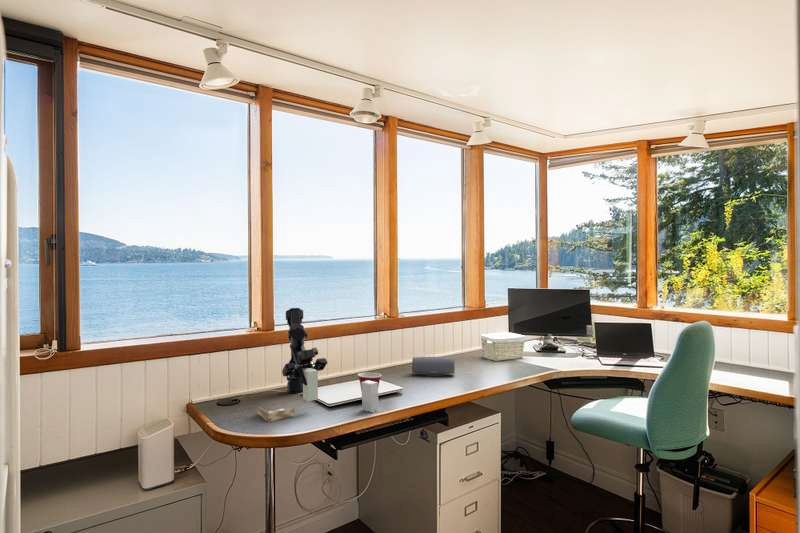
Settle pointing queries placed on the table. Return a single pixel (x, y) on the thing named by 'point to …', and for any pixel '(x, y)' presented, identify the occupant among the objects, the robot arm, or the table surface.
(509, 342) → the storage basket
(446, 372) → the bluetooth speaker
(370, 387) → the skincare box
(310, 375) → the sage block
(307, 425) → the table surface
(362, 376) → the plastic cup
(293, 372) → the robot arm
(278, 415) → the beige flat l-shaped piece
